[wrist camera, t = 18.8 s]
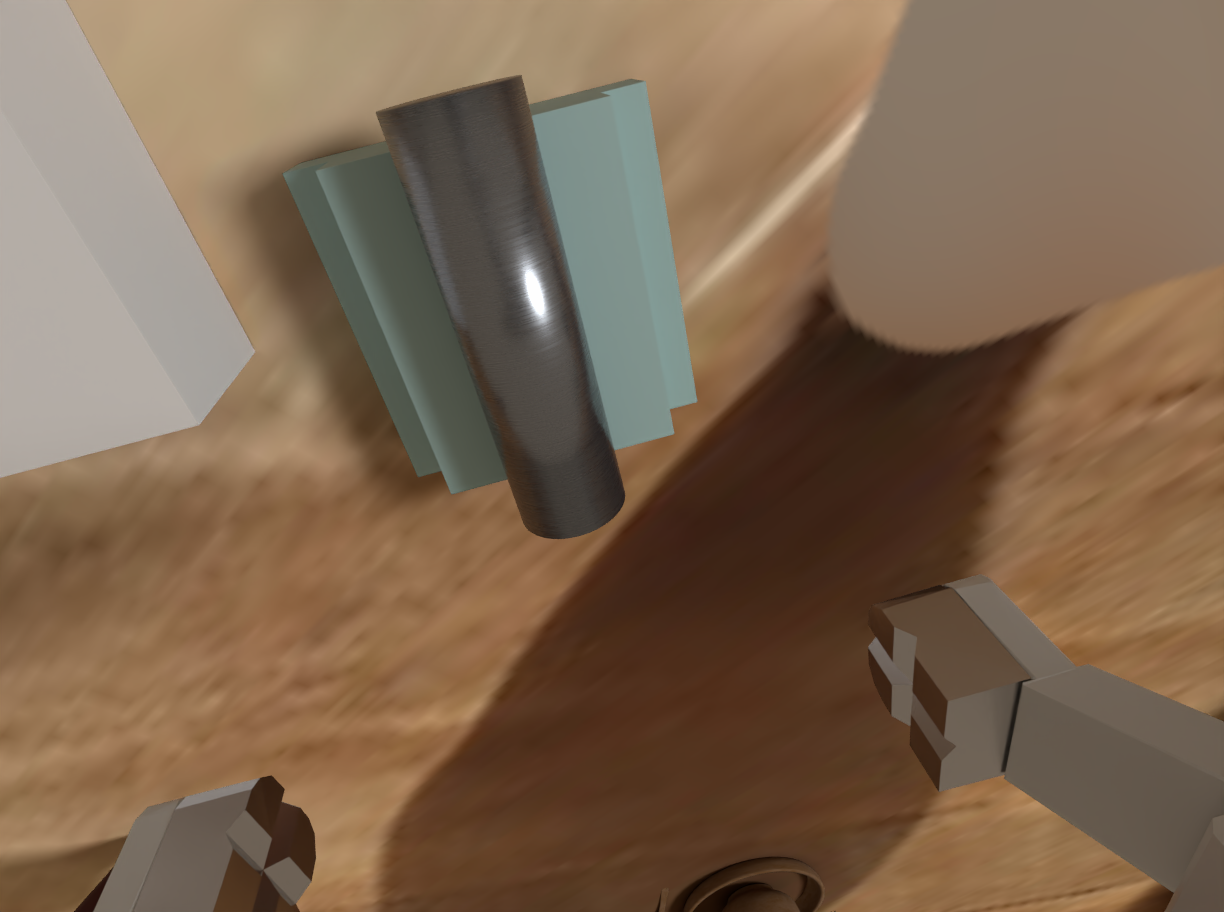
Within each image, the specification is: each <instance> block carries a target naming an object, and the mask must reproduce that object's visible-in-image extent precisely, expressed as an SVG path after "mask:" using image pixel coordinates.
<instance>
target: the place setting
mask: <svg viewBox="0 0 1224 912" xmlns="http://www.w3.org/2000/svg"><path fill="white" fill-rule="evenodd" d="M773 872H793V873H799V874H803V875H806V876H807V879H808V880H807V886H806V889H805V891H804V892H803V894H802V895H801V896H800V898H799V899H798V900H797V901H796V902H794V901H793V900H792V899H791V898H790V897H789V896H788V895H786V894H785V893H783V892H780V891H777V890H773V888H772V887H771V886H769V885H766V884H753V885H749V886H745V887H743V888H741V889H739V890H737V891H735V892H734V893H733V894H732V895H731V896H730V897H729V899H728V904H727V905H726V906H725V908H724V909H723V911H722V912H816V911H817V910H818V908H819V907H820V905H821V904H822V902H823V899H824V895H825V890H824V886H823V883H822V881H821V879H820V877H819V876H818V874H817V873H816V872H815V871H814V870H813V869H812V868H811V867H810V866H808V865H807V864H805V863H803V862H801V861H799V860H796V859H792V858H786V857H767V858H759V859H753V860H749V861H745V862H742V863H739V864H735V865H733V866H730V867H728V868H726V869H723V870H721V871H719V872H717V873H716V874H714V875H712V876H711V877H709V878H708V879H706V880H705V881H703V882H702V883H701V884H700V885H699V886H698V887H697V888H696V889H695V890H694V891H693V892H692V893H691V894H690V896H689V898H688V899H687V901H686V904H685V907H684V910H683V912H693V910H694V909H695V908H696V907H697V906H698V905H699V904H700V903H701V902H702V901H703V900H704V899H705V898H707V897H708V896H709V895H711V894H712V893H714V892H715V891H717V890H719V889H721V888H723V887H725V886H727V885H729V884H731V883H733V882H736V881H739V880H741V879H745V878H748V877H751V876H755V875H760V874H765V873H773ZM668 890H669V888H664V889H662V891H661V897H660V906H659V911H658V912H665V905H666V900H667V895H668ZM831 912H832V911H831ZM834 912H836V911H834Z"/></svg>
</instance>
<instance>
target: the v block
mask: <svg viewBox="0 0 1224 912" xmlns="http://www.w3.org/2000/svg"><path fill="white" fill-rule="evenodd" d="M529 107H530V112H531V116H532V120H533V124H534V128H535V132H536V136H537V140H538V144H539V148H540V152H541V156H542V160H543V164H544V168H545V172H546V176H547V180H548V184H549V188H550V192H551V196H552V200H553V204H554V208H555V212H556V216H557V220H558V224H559V229H560V233H561V237H562V241H563V245H564V249H565V253H566V257H567V261H568V265H569V269H570V273H571V277H572V281H573V285H574V289H575V293H576V297H577V301H578V305H579V309H580V313H581V317H582V321H583V325H584V329H585V333H586V337H587V341H588V346H589V350H590V354H591V358H592V362H593V366H594V370H595V374H596V378H597V382H598V386H599V390H600V394H601V398H602V402H603V406H604V410H605V414H606V418H607V422H608V426H609V430H610V434H611V438H612V442H613V446H614V450H617V449H621V448H625V447H628V446H632V445H636V444H639V443H643V442H647V441H650V440H654V439H658V438H662V437H665V436H669V435H673V434H674V430H673V424H672V419H671V414H670V409H673V408H676V407H680V406H684V405H687V404H691V403H695V402H697V397H696V391H695V385H694V379H693V373H692V366H691V360H690V354H689V348H688V342H687V335H686V329H685V323H684V317H683V311H682V304H681V298H680V292H679V286H678V280H677V273H676V267H675V261H674V255H673V249H672V242H671V236H670V230H669V224H668V218H667V211H666V205H665V199H664V193H663V187H662V180H661V174H660V168H659V162H658V156H657V149H656V143H655V137H654V131H653V125H652V118H651V112H650V106H649V100H648V94H647V87H646V81H641V80H635V79H629V80H625V81H621V82H617V83H613V84H609V85H605V86H601V87H597V88H593V89H589V90H585V91H581V92H578V93H574V94H570V95H566V96H562V97H558V98H554V99H550V100H546V101H542V102H538V103H534V104H530V105H529ZM283 176H284V178H285V181H286V183H287V185H288V187H289V189H290V192H291V194H292V196H293V198H294V201H295V203H296V205H297V207H298V210H299V212H300V214H301V216H302V219H303V221H304V223H305V225H306V227H307V230H308V232H309V234H310V236H311V239H312V241H313V243H314V245H315V248H316V250H317V252H318V254H319V257H320V259H321V261H322V263H323V266H324V268H325V270H326V272H327V274H328V277H329V279H330V281H331V283H332V286H333V288H334V290H335V292H336V295H337V297H338V299H339V301H340V304H341V306H342V308H343V310H344V313H345V315H346V317H347V319H348V321H349V324H350V326H351V328H352V330H353V333H354V335H355V337H356V339H357V342H358V344H359V346H360V348H361V351H362V353H363V355H364V357H365V360H366V362H367V364H368V366H369V368H370V371H371V373H372V375H373V377H374V380H375V382H376V384H377V386H378V389H379V391H380V393H381V395H382V398H383V400H384V402H385V404H386V407H387V409H388V411H389V413H390V415H391V418H392V420H393V422H394V424H395V427H396V429H397V431H398V433H399V436H400V438H401V440H402V442H403V445H404V447H405V449H406V451H407V454H408V456H409V458H410V460H411V462H412V465H413V467H414V469H415V471H416V474H417V476H418V477H421V476H425V475H428V474H432V473H436V472H439V471H442V473H443V475H444V478H445V480H446V483H447V485H448V487H449V490H450V492H451V494H455V493H459V492H463V491H466V490H470V489H474V488H477V487H481V486H485V485H488V484H492V483H496V482H499V481H503V480H507V476H506V473H505V471H504V468H503V465H502V462H501V459H500V457H499V454H498V451H497V448H496V446H495V443H494V440H493V437H492V434H491V432H490V429H489V426H488V423H487V421H486V418H485V415H484V412H483V409H482V407H481V404H480V401H479V398H478V396H477V393H476V390H475V387H474V384H473V382H472V379H471V376H470V373H469V371H468V368H467V365H466V362H465V359H464V357H463V354H462V351H461V348H460V346H459V343H458V340H457V337H456V334H455V332H454V329H453V326H452V323H451V320H450V318H449V315H448V312H447V309H446V307H445V304H444V301H443V298H442V295H441V293H440V290H439V287H438V284H437V282H436V279H435V276H434V273H433V270H432V268H431V265H430V262H429V259H428V257H427V254H426V251H425V248H424V245H423V243H422V240H421V237H420V234H419V232H418V229H417V226H416V223H415V220H414V218H413V215H412V212H411V209H410V207H409V204H408V201H407V198H406V195H405V193H404V190H403V187H402V184H401V182H400V179H399V176H398V173H397V170H396V168H395V165H394V162H393V159H392V157H391V154H390V151H389V148H388V145H387V143H386V141H385V142H381V143H377V144H373V145H369V146H365V147H361V148H357V149H353V150H350V151H346V152H342V153H338V154H334V155H330V156H326V157H322V158H318V159H314V160H310V161H306V162H302V163H300V164H298V165H296V166H294V167H293V168H291V169H289V170H288V171H286V172H284V173H283Z"/></svg>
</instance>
